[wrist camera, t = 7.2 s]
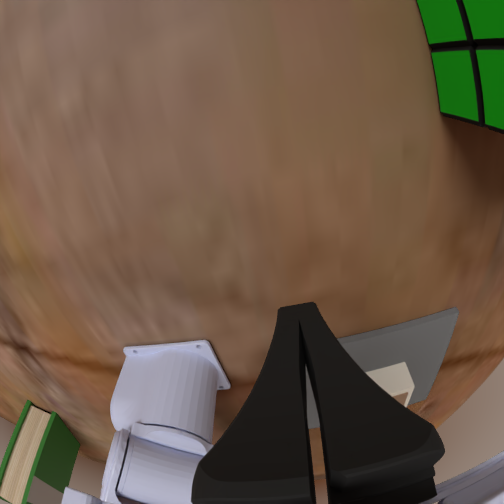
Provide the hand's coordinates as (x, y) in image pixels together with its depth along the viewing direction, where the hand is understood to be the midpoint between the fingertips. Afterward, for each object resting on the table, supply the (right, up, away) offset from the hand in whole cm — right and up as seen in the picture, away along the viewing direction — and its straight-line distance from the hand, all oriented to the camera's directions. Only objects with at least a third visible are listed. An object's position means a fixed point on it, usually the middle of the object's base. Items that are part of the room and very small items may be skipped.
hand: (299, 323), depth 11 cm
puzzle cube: (+15, +18, +2) cm, 23 cm away
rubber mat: (+11, -12, +19) cm, 26 cm away
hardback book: (-44, -34, +33) cm, 65 cm away
